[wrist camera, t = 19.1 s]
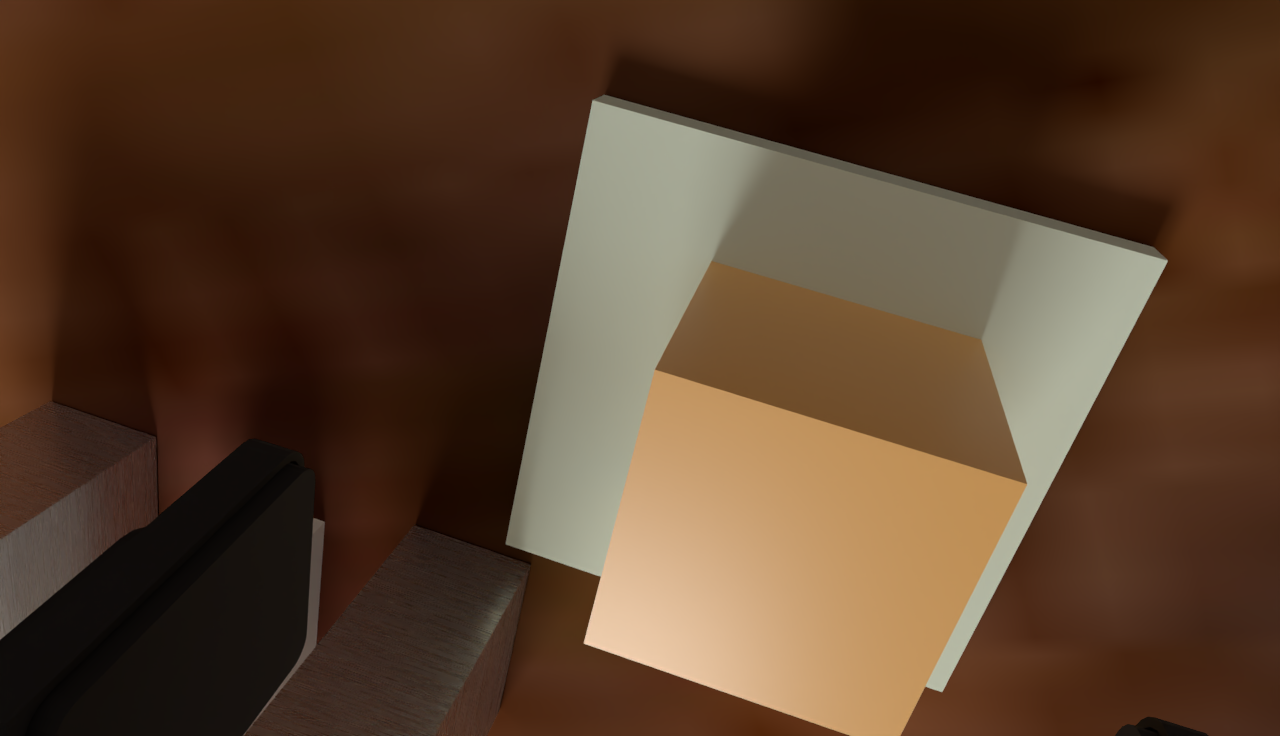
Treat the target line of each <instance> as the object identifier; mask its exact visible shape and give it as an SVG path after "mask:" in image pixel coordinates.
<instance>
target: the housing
mask: <svg viewBox="0 0 1280 736" xmlns="http://www.w3.org/2000/svg"><path fill="white" fill-rule="evenodd" d="M157 517H158V498H157V457H156V437H155V436H152V435H149V434H146V433H143V432H140V431H137V430H134V429H131V428H128V427H125V426H122V425H119V424H116V423H113V422H110V421H107V420H105V419H102V418H99V417H96V416H93V415H90V414H87V413H84V412H81V411H78V410H75V409H72V408H69V407H66V406H63V405H60V404H58V403H55V402H52V401H50V402H48V403H46V404H44V405H42V406H40V407H39V408H37V409H35V410H33V411H31V412H29V413H27V414H25V415H23V416H22V417H20V418H18V419H16V420H14V421H12V422H10V423H8V424H6V425H5V426H3V427H1V428H0V639H2V638H3V637H4V636H5V635H6V634H8V633H9V632H10V631H11V630H12V629H13V628H15V627H16V626H17V625H18V624H19V623H21V622H22V621H23V620H24V619H25V618H26V617H28V616H29V615H30V614H31V613H32V612H34V611H35V610H36V609H37V608H38V607H39V606H41V605H42V604H43V603H44V602H45V601H47V600H48V599H49V598H50V597H51V596H52V595H54V594H55V593H56V592H57V591H58V590H60V589H61V588H62V587H63V586H64V585H65V584H67V583H68V582H69V581H70V580H71V579H73V578H74V577H75V576H76V575H77V574H79V573H80V572H81V571H82V570H83V569H84V568H86V567H87V566H88V565H89V564H90V563H92V562H93V561H94V560H95V559H96V558H97V557H99V556H100V555H101V554H102V553H103V552H105V551H106V550H107V549H108V548H109V547H110V546H112V545H113V544H114V543H115V542H116V541H118V540H119V539H120V538H121V537H123V536H124V535H126V534H128V533H129V532H131V531H132V530H135V529H138V528H142V527H146V526H147V525H148V524H150V523H151V522H152V521H153V520H154V519H155V518H157ZM530 565H531V564H528V563H525V562H522V561H519V560H516V559H513V558H510V557H507V556H504V555H501V554H498V553H495V552H493V551H490V550H487V549H484V548H481V547H478V546H475V545H472V544H469V543H466V542H463V541H460V540H457V539H454V538H451V537H448V536H446V535H443V534H440V533H437V532H434V531H431V530H428V529H425V528H422V527H419V526H416V525H414V526H413V527H412V528H411V530H410V531H409V532H408V533H407V535H406V536H405V537H404V538H403V539H402V541H401V542H400V543H399V544H398V546H397V547H396V548H395V549H394V551H393V552H392V553H391V554H390V556H389V557H388V558H387V559H386V560H385V562H384V563H383V564H382V565H381V567H380V568H379V569H378V570H377V572H376V573H375V574H374V575H373V577H372V578H371V579H370V580H369V581H368V583H367V584H366V585H365V586H364V588H363V589H362V590H361V591H360V593H359V594H358V595H357V596H356V598H355V599H354V600H353V601H352V602H351V604H350V605H349V606H348V607H347V609H346V610H345V611H344V612H343V614H342V615H341V616H340V617H339V619H338V620H337V621H336V622H335V623H334V625H333V626H332V627H331V628H330V630H329V631H328V632H327V633H326V635H325V636H324V637H323V638H322V640H321V641H320V642H319V643H318V644H317V646H316V647H315V648H314V649H313V651H312V652H311V653H310V654H309V656H308V657H307V658H306V659H305V661H304V662H303V663H302V664H301V665H300V667H299V668H298V669H297V670H296V672H295V673H294V674H293V675H292V677H291V678H290V679H289V680H288V681H287V683H286V684H285V685H284V686H283V688H282V689H281V690H280V691H279V693H278V694H277V695H276V696H275V698H274V699H273V700H272V701H271V702H270V704H269V705H268V706H267V707H266V709H265V710H264V711H263V712H262V714H261V715H260V716H259V717H258V719H257V720H256V721H255V722H254V723H253V725H252V726H251V727H250V728H249V730H248V731H247V732H246V733H245V735H244V736H487V734H488V732H489V730H490V728H491V726H492V724H493V722H494V720H495V718H496V716H497V714H498V712H499V709H500V704H501V700H502V695H503V690H504V686H505V681H506V676H507V672H508V667H509V662H510V658H511V653H512V648H513V644H514V639H515V634H516V630H517V625H518V621H519V616H520V611H521V607H522V602H523V597H524V593H525V588H526V583H527V579H528V574H529V569H530Z"/></svg>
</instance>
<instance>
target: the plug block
mask: <svg viewBox="0 0 1280 736" xmlns="http://www.w3.org/2000/svg"><path fill="white" fill-rule="evenodd" d="M1026 486H1027V481H1026V478H1025V475H1024V472H1023V469H1022V466H1021V463H1020V459H1019V456H1018V453H1017V450H1016V447H1015V444H1014V441H1013V438H1012V434H1011V431H1010V428H1009V425H1008V422H1007V419H1006V416H1005V412H1004V409H1003V406H1002V403H1001V400H1000V397H999V394H998V390H997V387H996V384H995V381H994V378H993V375H992V372H991V368H990V365H989V362H988V359H987V356H986V353H985V350H984V346H983V343H982V340H980V339H977V338H974V337H970V336H967V335H963V334H960V333H956V332H953V331H950V330H946V329H943V328H939V327H936V326H933V325H929V324H926V323H922V322H919V321H915V320H912V319H909V318H905V317H902V316H898V315H895V314H891V313H888V312H885V311H881V310H878V309H874V308H871V307H867V306H864V305H861V304H857V303H854V302H850V301H847V300H843V299H840V298H837V297H833V296H830V295H826V294H823V293H820V292H816V291H813V290H809V289H806V288H802V287H799V286H796V285H792V284H789V283H785V282H782V281H778V280H775V279H772V278H768V277H765V276H761V275H758V274H754V273H751V272H748V271H744V270H741V269H737V268H734V267H730V266H727V265H724V264H720V263H717V262H713V261H711V263H710V265H709V267H708V269H707V271H706V273H705V274H704V276H703V278H702V280H701V282H700V284H699V286H698V288H697V290H696V292H695V294H694V295H693V297H692V299H691V301H690V303H689V305H688V307H687V309H686V311H685V313H684V315H683V317H682V318H681V320H680V322H679V324H678V326H677V328H676V330H675V332H674V334H673V336H672V338H671V339H670V341H669V343H668V345H667V347H666V349H665V351H664V353H663V355H662V357H661V359H660V361H659V362H658V364H657V366H656V368H655V371H654V375H653V378H652V382H651V386H650V390H649V394H648V398H647V401H646V405H645V409H644V413H643V417H642V421H641V425H640V428H639V432H638V436H637V440H636V444H635V448H634V452H633V455H632V459H631V463H630V467H629V471H628V475H627V479H626V482H625V486H624V490H623V494H622V498H621V502H620V506H619V509H618V513H617V517H616V521H615V525H614V529H613V533H612V536H611V540H610V544H609V548H608V552H607V556H606V560H605V563H604V567H603V571H602V575H601V579H600V583H599V587H598V590H597V594H596V598H595V602H594V606H593V610H592V614H591V617H590V621H589V625H588V629H587V633H586V637H585V641H584V644H587V645H590V646H593V647H595V648H598V649H601V650H604V651H607V652H610V653H613V654H616V655H619V656H621V657H624V658H627V659H630V660H633V661H636V662H639V663H642V664H645V665H648V666H650V667H653V668H656V669H659V670H662V671H665V672H668V673H671V674H674V675H676V676H679V677H682V678H685V679H688V680H691V681H694V682H697V683H700V684H702V685H705V686H708V687H711V688H714V689H717V690H720V691H723V692H726V693H728V694H731V695H734V696H737V697H740V698H743V699H746V700H749V701H752V702H755V703H757V704H760V705H763V706H766V707H769V708H772V709H775V710H778V711H781V712H783V713H786V714H789V715H792V716H795V717H798V718H801V719H804V720H807V721H809V722H812V723H815V724H818V725H821V726H824V727H827V728H830V729H833V730H836V731H838V732H841V733H844V734H847V735H850V736H900V735H901V733H902V731H903V729H904V727H905V725H906V723H907V721H908V719H909V717H910V716H911V714H912V712H913V710H914V708H915V706H916V704H917V702H918V700H919V698H920V696H921V694H922V692H923V690H924V688H925V686H926V684H927V682H928V680H929V678H930V676H931V674H932V672H933V670H934V668H935V666H936V664H937V662H938V660H939V658H940V656H941V654H942V652H943V650H944V648H945V646H946V644H947V642H948V640H949V638H950V636H951V634H952V632H953V630H954V628H955V626H956V625H957V623H958V621H959V619H960V617H961V615H962V613H963V611H964V609H965V607H966V605H967V603H968V601H969V599H970V597H971V595H972V593H973V591H974V589H975V587H976V585H977V583H978V581H979V579H980V577H981V575H982V573H983V571H984V569H985V567H986V565H987V563H988V561H989V559H990V557H991V555H992V553H993V551H994V549H995V547H996V545H997V543H998V541H999V539H1000V537H1001V536H1002V534H1003V532H1004V530H1005V528H1006V526H1007V524H1008V522H1009V520H1010V518H1011V516H1012V514H1013V512H1014V510H1015V508H1016V506H1017V504H1018V502H1019V500H1020V498H1021V496H1022V494H1023V492H1024V490H1025V488H1026Z"/></svg>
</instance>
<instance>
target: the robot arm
mask: <svg viewBox="0 0 1280 736" xmlns="http://www.w3.org/2000/svg"><path fill="white" fill-rule="evenodd" d="M314 495H315V474H314V471H313V470H311V469H309V468H305V467H304V458H303V456H302V454H301V453H299V452H297V451H294V450H290V449H287V448H284V447H281V446H277V445H274V444H271V443H268V442H265V441H261V440H258V439H249V440H247V441H246V442H244V443H243V444H242V445H240V446H239V447H238V448H237V449H236V450H235V451H233V452H232V453H231V454H230V455H229V456H228V457H226V458H225V459H224V460H223V461H222V462H221V463H219V464H218V465H217V466H216V467H215V468H214V469H212V470H211V471H210V472H209V473H208V474H207V475H205V476H204V477H203V478H202V479H201V480H200V481H198V482H197V483H196V484H195V485H194V486H193V487H191V488H190V489H189V490H188V491H187V492H186V493H185V494H183V495H182V496H181V497H180V498H179V499H178V500H176V501H175V502H174V503H173V504H172V505H171V506H169V507H168V508H167V509H166V510H165V511H164V512H162V513H161V514H160V515H159V516H158V517H157V518H155V519H154V520H153V521H152V522H151V523H150V524H148V525H147V526H146V527H142V528H138V529H135V530H132V531H131V532H129V533H128V534H126V535H124V536H123V537H121V538H120V539H119V540H118V541H116V542H115V543H114V544H113V545H112V546H110V547H109V548H108V549H107V550H106V551H105V552H103V553H102V554H101V555H100V556H99V557H97V558H96V559H95V560H94V561H93V562H92V563H90V564H89V565H88V566H87V567H86V568H84V569H83V570H82V571H81V572H80V573H79V574H77V575H76V576H75V577H74V578H73V579H71V580H70V581H69V582H68V583H67V584H65V585H64V586H63V587H62V588H61V589H60V590H58V591H57V592H56V593H55V594H54V595H52V596H51V597H50V598H49V599H48V600H47V601H45V602H44V603H43V604H42V605H41V606H39V607H38V608H37V609H36V610H35V611H34V612H32V613H31V614H30V615H29V616H28V617H26V618H25V619H24V620H23V621H22V622H21V623H19V624H18V625H17V626H16V627H15V628H13V629H12V630H11V631H10V632H9V633H8V634H6V635H5V636H4V637H3V638H2V639H0V736H243V735H244V734H245V732H246V731H247V730H248V728H249V727H250V726H251V724H252V723H253V722H254V720H255V719H256V718H257V716H258V715H259V714H260V712H261V711H262V709H263V708H264V707H265V705H266V704H267V703H268V701H269V700H270V699H271V697H272V696H273V695H274V693H275V692H276V691H277V689H278V688H279V687H280V685H281V684H282V682H283V681H284V680H285V678H286V677H287V676H288V674H289V673H290V672H291V670H292V669H293V667H294V666H295V664H296V663H297V661H298V659H299V657H300V655H301V653H302V650H303V648H304V645H305V641H306V636H307V622H308V604H309V586H310V568H311V550H312V532H313V513H314ZM1115 736H1208V735H1207V734H1206V733H1203V732H1200V731H1196V730H1193V729H1190V728H1187V727H1183V726H1180V725H1177V724H1174V723H1171V722H1167V721H1164V720H1161V719H1158V718H1153V717H1147V718H1144V719H1142V720H1141V721H1140V722H1139V723H1138V724H1137V725H1136V726H1134V725H1129V724H1127V725H1125V726H1123V727H1122V728H1121V729H1120V730H1119V731H1118V732H1117V734H1116V735H1115Z"/></svg>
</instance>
